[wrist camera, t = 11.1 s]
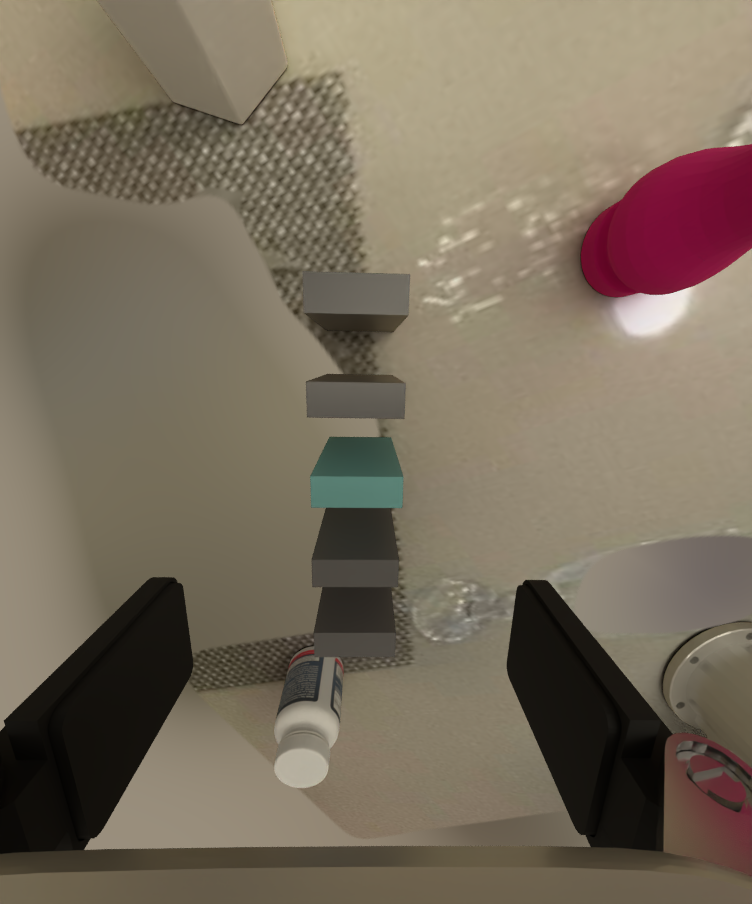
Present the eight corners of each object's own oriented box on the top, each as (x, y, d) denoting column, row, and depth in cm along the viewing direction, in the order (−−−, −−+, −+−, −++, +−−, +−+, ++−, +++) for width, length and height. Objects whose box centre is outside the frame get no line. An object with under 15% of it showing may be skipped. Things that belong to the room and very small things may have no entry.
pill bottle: (279, 672, 34) (250, 777, 26) (307, 635, 33) (286, 731, 25) (325, 696, 35) (312, 804, 27) (354, 660, 34) (350, 760, 26)
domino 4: (387, 514, 30) (397, 587, 21) (329, 514, 30) (312, 587, 20) (388, 495, 30) (398, 559, 20) (329, 494, 30) (311, 559, 20)
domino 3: (390, 458, 29) (402, 507, 19) (329, 458, 29) (311, 507, 19) (391, 437, 29) (403, 477, 19) (329, 436, 28) (310, 476, 19)
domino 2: (391, 398, 28) (404, 418, 18) (328, 397, 28) (307, 417, 18) (392, 375, 27) (405, 383, 18) (327, 373, 27) (305, 381, 18)
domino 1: (393, 331, 26) (408, 315, 17) (326, 330, 26) (303, 312, 17) (394, 306, 26) (410, 274, 16) (326, 304, 26) (302, 271, 16)
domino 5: (386, 565, 32) (394, 656, 22) (330, 565, 31) (314, 657, 22) (386, 547, 31) (395, 632, 21) (330, 547, 31) (313, 633, 21)
